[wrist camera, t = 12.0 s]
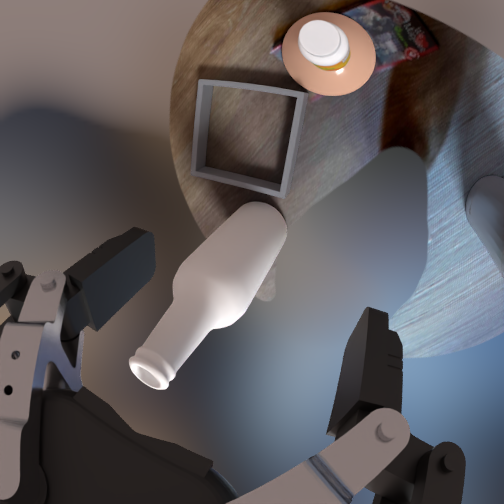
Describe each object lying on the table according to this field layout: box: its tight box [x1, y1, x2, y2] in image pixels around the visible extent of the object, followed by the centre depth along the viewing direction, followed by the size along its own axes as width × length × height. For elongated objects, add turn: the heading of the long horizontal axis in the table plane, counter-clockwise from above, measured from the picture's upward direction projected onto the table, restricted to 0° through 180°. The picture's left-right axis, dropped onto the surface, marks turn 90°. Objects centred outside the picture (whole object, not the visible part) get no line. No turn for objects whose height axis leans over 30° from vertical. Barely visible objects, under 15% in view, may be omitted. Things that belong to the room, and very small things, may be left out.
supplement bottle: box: [298, 20, 351, 71], centre depth 25 cm, size 5×5×10 cm
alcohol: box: [129, 202, 287, 389], centre depth 34 cm, size 9×9×30 cm
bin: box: [191, 79, 309, 199], centre depth 38 cm, size 15×15×3 cm
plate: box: [282, 12, 376, 96], centre depth 29 cm, size 12×12×1 cm
